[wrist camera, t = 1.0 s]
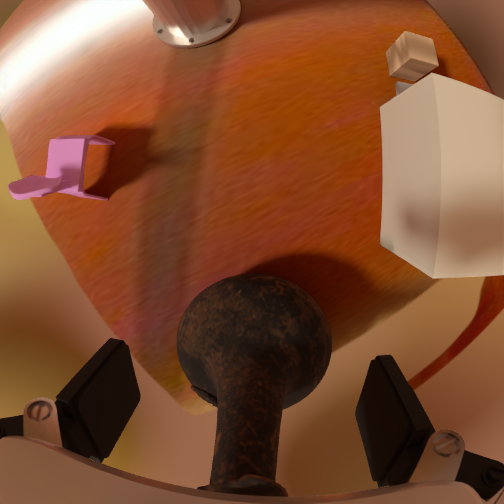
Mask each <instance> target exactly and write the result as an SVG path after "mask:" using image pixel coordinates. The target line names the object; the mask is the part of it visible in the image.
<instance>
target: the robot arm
mask: <svg viewBox="0 0 504 504" xmlns="http://www.w3.org/2000/svg"><path fill="white" fill-rule="evenodd" d="M143 2H144V3H145V4H146V5H147V6H148V8H149V9H150V10H151V11H152V13H153V14H154V17H153V30H154V32H155V34H156V35H157V37H158V38H159V39H160V40H161V41H162V42H164V43H165V44H167V45H170V46H172V47H177V48H193V47H199V46H203V45H206V44H209V43H211V42H214V41H216V40H217V39H219V38H221V37H222V36H224V35H225V34H227V33H228V32H229V31H230V30H231V29H232V28H233V27H234V26H235V24H236V23H237V21H238V19H239V17H240V13H241V6H240V1H239V0H143ZM56 399H57V400H56V402H55V403H53V401H52V400H50V399H47V398H37V399H34V400H32V401H30V402H29V403H28V404H27V405H26V406H25V408H24V412H23V415H19V416H14V417H8V418H1V419H0V504H504V464H503V463H500V462H499V461H496V460H493V459H489V458H486V457H483V456H480V455H477V454H474V453H471V452H468V451H466V450H465V443H464V440H463V438H462V437H461V436H460V435H459V434H458V433H456V432H454V431H452V430H447V429H445V430H439V431H435V429H434V428H433V426H432V424H431V422H430V420H429V418H428V416H427V414H426V412H425V411H424V409H423V407H422V405H421V403H420V401H419V400H418V398H417V396H416V394H415V392H414V391H413V389H412V388H411V386H409V384H408V382H407V381H406V379H405V377H404V375H403V374H402V372H401V370H400V368H399V367H398V365H397V363H396V362H395V360H394V358H393V357H392V356H391V355H380V356H376V358H375V360H371V363H370V366H369V369H368V373H367V376H366V379H365V382H364V386H363V389H362V392H361V395H360V398H359V401H358V404H357V407H356V412H355V415H356V420H357V423H358V427H359V430H360V434H361V438H362V441H363V445H364V449H365V452H366V456H367V460H368V464H369V468H370V472H371V476H372V479H373V481H377V483H378V487H383V488H377V489H372V490H365V491H358V492H350V493H341V494H331V495H319V496H300V497H273V496H250V495H238V494H228V493H219V492H212V491H205V490H199V489H193V488H187V487H182V486H177V485H172V484H168V483H164V482H159V481H156V480H152V479H148V478H145V477H141V476H137V475H134V474H131V473H127V472H125V471H122V470H118V469H116V468H113V467H110V466H107V465H104V464H102V461H103V460H104V458H107V457H109V455H110V453H111V451H112V450H113V448H114V446H115V444H116V442H117V441H118V439H119V437H120V435H121V433H122V431H123V430H124V428H125V426H126V424H127V423H128V421H129V419H130V417H131V416H132V414H133V412H134V410H135V408H136V407H137V405H138V403H139V401H140V391H139V387H138V383H137V380H136V376H135V372H134V368H133V363H132V359H131V354H130V350H129V346H128V345H126V344H125V342H124V341H123V340H118V339H113V338H110V339H109V340H108V341H107V342H106V343H105V344H104V345H103V346H102V347H101V348H100V349H99V350H98V351H97V352H96V353H95V354H94V355H93V357H92V358H91V359H90V360H89V361H88V362H87V363H86V364H85V365H84V366H83V368H82V369H81V370H80V371H79V372H78V373H77V374H76V375H75V376H74V377H73V378H72V379H71V380H70V382H69V383H68V384H67V385H66V386H65V387H64V388H63V390H62V391H61V392H60V393H59V394H58V395H57V396H56ZM89 458H90V459H89ZM91 459H92V460H91ZM96 461H97V462H96ZM384 486H389V487H384Z"/></svg>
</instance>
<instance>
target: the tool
mask: <svg viewBox="0 0 504 504" xmlns="http://www.w3.org/2000/svg"><path fill="white" fill-rule="evenodd" d="M386 56H387V62H388V68H389V75H390V76H391V77H396V78H401V79H406V80H410V81H414V82H415V81H416V80H418V79H419V78H421V77H422V76H424V75H425V74H427V73H428V72H430V71H432V70H433V69H435V68H436V67H438V66H439V65H438V60H437V56H436V51H435V47H434V43H433V39H430V38H427V37H424V36H421V35H417V34H414V33H410V32H407V31H404V33H403V34H402V35H401V36H400V37H399V38H398V39H397V40H396V41H395V42H394V44H393V45H392V46H391V47H390V48H389V49H388V50H387V51H386ZM395 84H396V92H397V95H399V94H400V93H402V92H403V91H405V90H406V89H408V88H409V87H411V86H412V85H413V84H408V83H404V82H399V81H398V82H397V83H395Z"/></svg>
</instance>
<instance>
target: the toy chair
mask: <svg viewBox="0 0 504 504" xmlns="http://www.w3.org/2000/svg"><path fill="white" fill-rule="evenodd" d="M115 143H116V142H114V141H111V140H109V139H106V138H103V137H100V136H97V135H74V136H60V137H57V138H56V139H50V145H49V152H48V163H47V171H46V177H41V176H34V175H31V176H28V177H26V178H23V179H21V180H18V181H15V182H12V183H10V184H9V186H8V187H9V190H10V193H11V195H12V197H13V198H15V199H17V200H23V199H27V198H31V197H42V196H45V195H48V194H51V193H54V192H59V193H66V194H71V195H74V196H77V197H84V198H92V199H99V200H106V201H108V198H104V197H100V196H95V195H91V194H87V193H85V192H84V189H83V181H84V166H85V160H86V155H87V150H88V145H89V144H105V145H115Z"/></svg>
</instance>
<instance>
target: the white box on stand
mask: <svg viewBox="0 0 504 504" xmlns="http://www.w3.org/2000/svg"><path fill="white" fill-rule="evenodd" d="M380 115H381V130H382V157H383V194H382V221H381V237H380V245H382V246H383V247H385V248H387V249H388V250H390V251H391V252H393V253H395V254H396V255H398V256H399V257H401V258H402V259H404V260H405V261H407V262H409V263H410V264H412V265H413V266H415V267H416V268H418V269H419V270H421V271H422V272H424V273H425V274H427V275H428V276H430V277H431V278H456V277H476V276H494V275H504V100H503V99H501V98H499V97H497V96H494V95H492V94H490V93H488V92H485V91H483V90H480V89H478V88H475V87H473V86H470V85H468V84H465V83H462V82H459V81H456V80H454V79H451V78H448V77H444V76H441V75H438V74H435V73H431V74H429V75H428V76H426V77H425V78H423V79H421V80H420V81H418V82H417V83H415V84H414V85H412V86H411V87H409V88H408V89H406V90H405V91H403V92H402V93H400V94H399V95H397V96H396V97H394V98H393V99H391V100H390V101H388V102H387V103H386V104H384V105H383V106H381V107H380Z"/></svg>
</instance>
